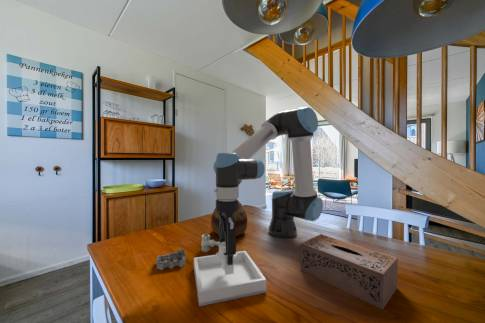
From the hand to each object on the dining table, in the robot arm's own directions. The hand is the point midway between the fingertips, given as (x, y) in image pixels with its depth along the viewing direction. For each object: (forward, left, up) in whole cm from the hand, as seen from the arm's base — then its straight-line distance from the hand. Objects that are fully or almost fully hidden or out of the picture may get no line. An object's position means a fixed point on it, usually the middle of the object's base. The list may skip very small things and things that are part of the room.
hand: (226, 267), depth 68 cm
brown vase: (-11, -41, -4) cm, 43 cm away
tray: (0, 0, -4) cm, 4 cm away
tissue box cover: (-39, +11, -5) cm, 41 cm away
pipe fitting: (0, 0, 0) cm, 0 cm away
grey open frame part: (+18, -16, -5) cm, 24 cm away
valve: (0, -22, -4) cm, 23 cm away
